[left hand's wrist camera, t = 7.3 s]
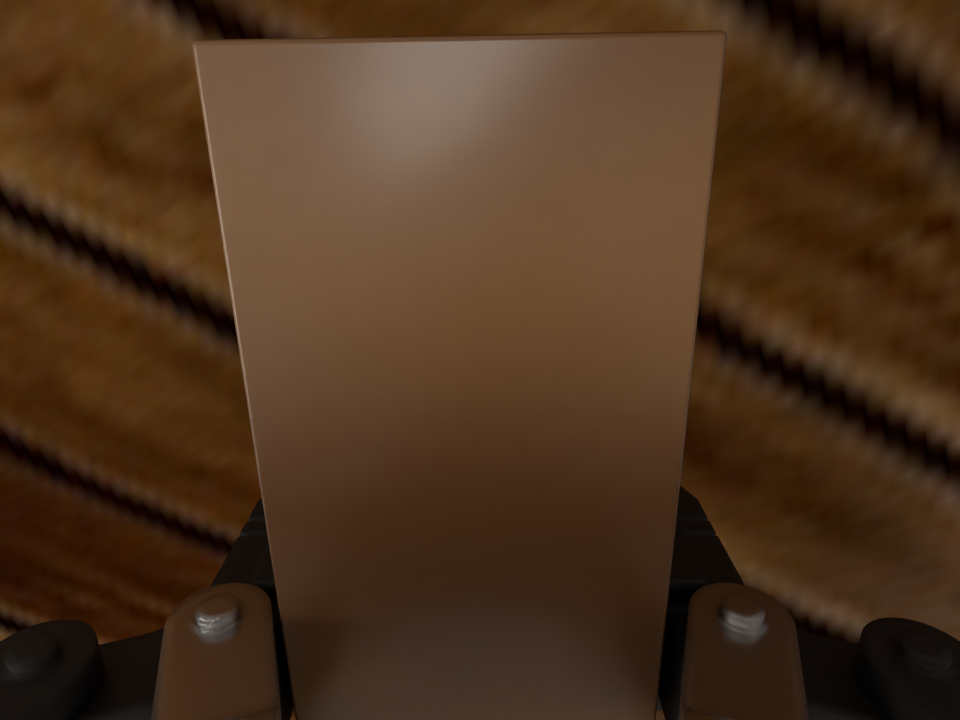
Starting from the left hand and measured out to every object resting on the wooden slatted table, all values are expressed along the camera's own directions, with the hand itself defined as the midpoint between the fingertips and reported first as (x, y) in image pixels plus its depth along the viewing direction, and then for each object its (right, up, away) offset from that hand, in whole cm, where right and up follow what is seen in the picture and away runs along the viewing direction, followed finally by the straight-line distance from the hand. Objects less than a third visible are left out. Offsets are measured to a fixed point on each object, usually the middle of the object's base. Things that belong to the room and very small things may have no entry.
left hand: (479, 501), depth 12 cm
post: (0, -18, +9) cm, 20 cm away
